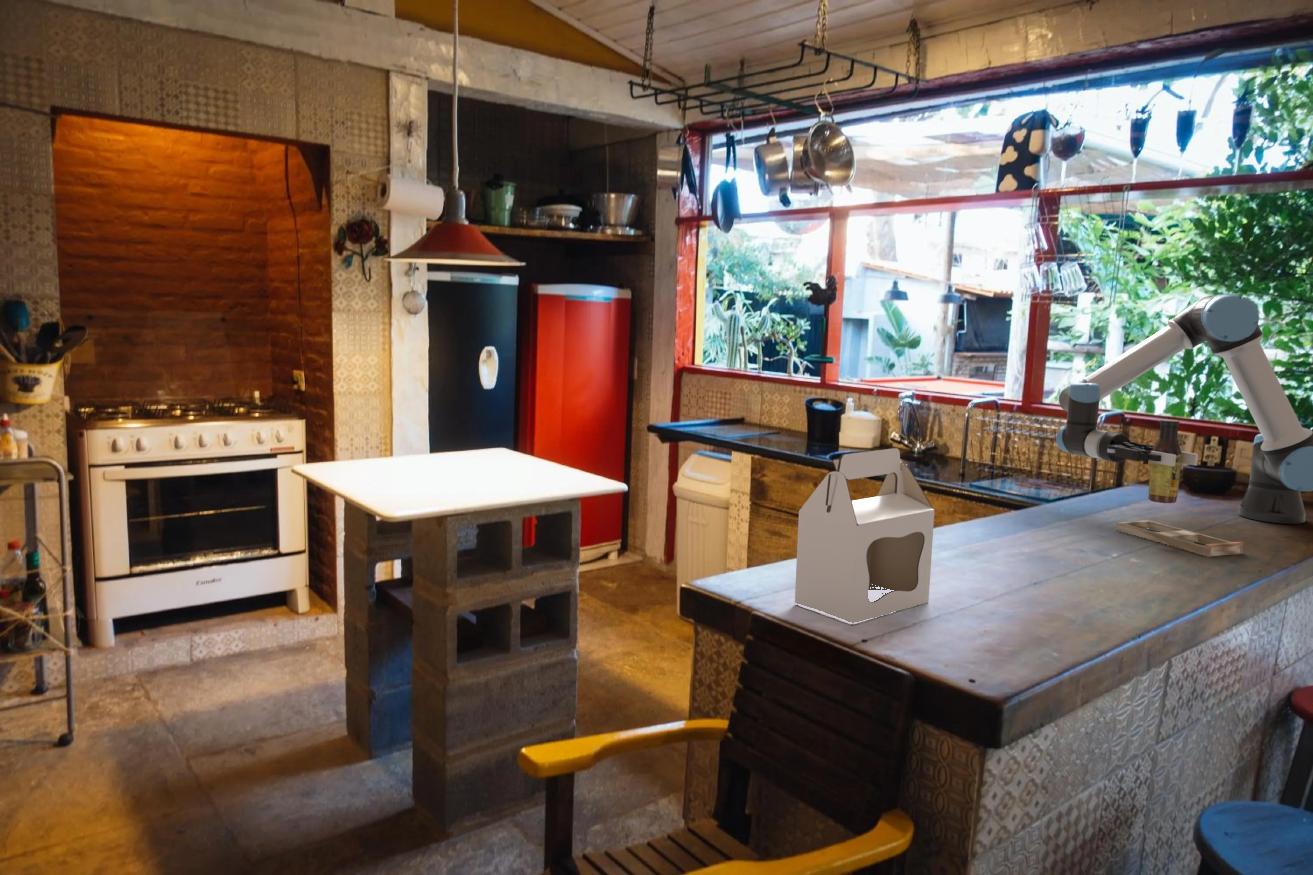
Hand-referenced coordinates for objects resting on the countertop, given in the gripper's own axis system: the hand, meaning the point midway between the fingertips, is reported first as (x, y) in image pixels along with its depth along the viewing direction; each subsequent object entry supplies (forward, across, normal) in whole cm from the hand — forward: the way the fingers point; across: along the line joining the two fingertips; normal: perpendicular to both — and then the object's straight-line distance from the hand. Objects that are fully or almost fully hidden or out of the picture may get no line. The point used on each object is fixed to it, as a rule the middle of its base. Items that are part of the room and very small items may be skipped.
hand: (1185, 460), depth 212 cm
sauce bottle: (-5, 0, -11) cm, 12 cm away
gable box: (+23, +99, -20) cm, 104 cm away
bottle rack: (-1, -1, -20) cm, 20 cm away
